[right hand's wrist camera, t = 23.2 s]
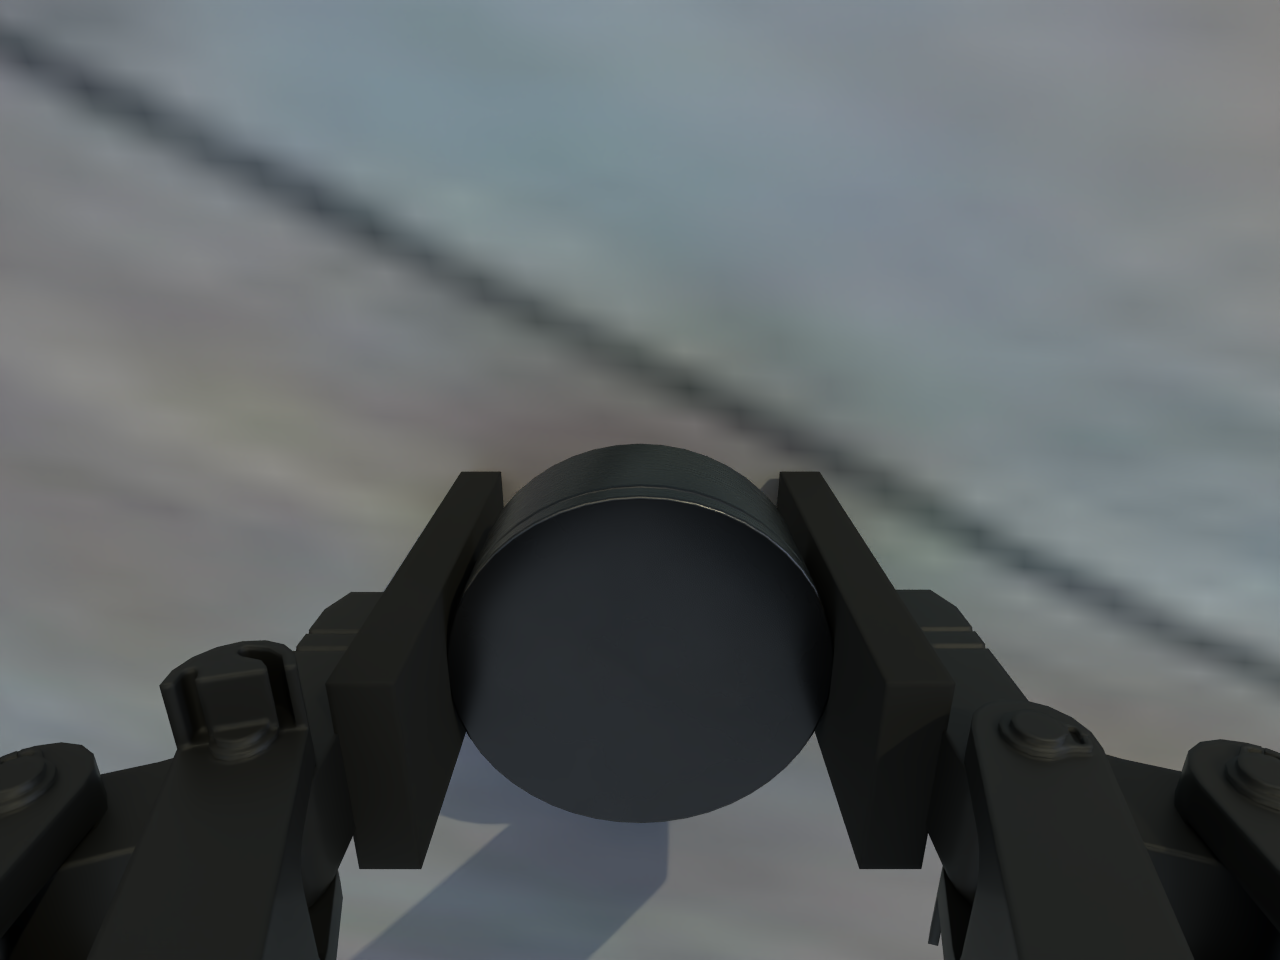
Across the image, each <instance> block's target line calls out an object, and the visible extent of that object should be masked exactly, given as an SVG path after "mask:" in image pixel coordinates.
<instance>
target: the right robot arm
mask: <svg viewBox="0 0 1280 960" xmlns="http://www.w3.org/2000/svg"><path fill="white" fill-rule="evenodd" d="M503 508H504V507H503V493H502V480H501V472H461V473H460V475H459V476H458V478H457V479H456V481H455V483H454V484H453V486H452V487H451V489H450V490H449V492H448V493H447V495H446V497H445V498H444V500H443V501H442V503H441V504H440V506H439V507H438V509H437V511H436V512H435V514H434V515H433V517H432V518H431V520H430V521H429V523H428V524H427V526H426V528H425V529H424V531H423V532H422V534H421V535H420V537H419V538H418V540H417V542H416V543H415V545H414V546H413V548H412V549H411V551H410V552H409V554H408V556H407V557H406V559H405V560H404V562H403V563H402V565H401V566H400V568H399V569H398V571H397V573H396V574H395V576H394V577H393V579H392V580H391V582H390V583H389V585H388V587H387V588H386V590H385V591H384V592H351V593H349V594H347V595H346V596H344V597H343V598H341V599H340V600H338V601H337V602H335V603H334V604H332V605H331V606H329V607H328V608H326V609H325V610H324V611H323V612H322V614H321V615H320V616H319V618H318V619H317V620H316V622H315V623H314V624H313V625H312V627H311V628H310V629H309V634H306V635H305V636H304V637H303V639H302V640H301V641H300V643H299V644H298V645H297V647H296V651H292V650H291V649H289V648H288V647H287V646H285V645H284V644H280V643H275V642H271V641H266V640H263V641H242V642H238V643H233V644H229V645H224V646H220V647H216V648H214V649H211V650H209V651H207V652H204V653H202V654H199V655H197V656H194V657H192V658H191V659H189V660H188V661H186V662H185V663H183V664H181V665H180V666H178V667H177V668H175V669H174V670H172V671H171V673H170V674H169V675H168V676H167V677H166V678H165V680H164V681H163V682H162V683H161V684H160V685H159V686H160V690H161V693H162V697H163V700H164V704H165V707H166V711H167V714H168V718H169V721H170V725H171V729H172V732H173V736H174V739H175V743H176V746H177V751H176V753H175V756H174V758H172V759H168V760H165V761H161V762H157V763H152V764H148V765H143V766H138V767H134V768H129V769H124V770H120V771H115V772H110V773H106V774H101V775H100V772H99V769H98V766H97V763H96V760H95V757H94V754H93V753H92V752H90V751H89V750H88V749H86V748H85V747H84V746H82V745H78V744H70V743H62V742H61V743H53V744H46V745H39V746H33V747H30V748H26V749H22V750H21V751H18V752H17V751H15V752H13V753H10V754H7V755H5V756H2V757H0V960H336V957H337V948H338V938H339V929H340V919H341V910H342V900H343V896H342V889H341V882H340V877H339V872H338V868H339V866H340V863H341V861H342V859H343V857H344V854H345V852H346V850H347V848H348V846H349V843H350V841H351V839H352V837H354V842H355V848H356V853H357V859H358V864H359V869H421V868H422V865H423V862H424V859H425V856H426V853H427V850H428V847H429V844H430V841H431V838H432V835H433V831H434V828H435V825H436V822H437V819H438V816H439V813H440V810H441V807H442V804H443V801H444V798H445V795H446V791H447V788H448V785H449V782H450V779H451V776H452V773H453V770H454V767H455V764H456V761H457V758H458V755H459V751H460V748H461V745H462V742H463V739H464V736H465V733H466V730H465V728H464V726H463V724H462V722H461V721H460V719H459V717H458V714H457V711H456V708H455V706H454V703H453V700H452V697H451V690H450V681H449V673H448V663H447V642H448V634H449V629H450V626H451V622H452V619H453V615H454V612H455V609H456V607H457V604H458V602H459V600H460V598H461V595H462V593H463V591H464V588H465V586H466V584H467V581H468V579H469V577H470V575H471V572H472V570H473V568H474V565H475V563H476V561H477V559H478V556H479V554H480V552H481V549H482V547H483V545H484V543H485V540H486V538H487V536H488V534H489V532H490V529H491V527H492V525H493V524H494V522H495V521H496V519H497V517H498V516H499V514H500V513H501V511H502V510H503ZM777 510H778V511H779V513H780V514H781V516H782V517H783V519H784V520H785V522H786V523H787V525H788V527H789V529H790V532H791V534H792V536H793V538H794V540H795V542H796V544H797V547H798V549H799V551H800V553H801V556H802V558H803V560H804V562H805V564H806V567H807V569H808V571H809V573H810V575H811V578H812V580H813V582H814V584H815V586H816V589H817V591H818V593H819V595H820V597H821V600H822V602H823V604H824V606H825V608H826V612H827V615H828V619H829V622H830V626H831V629H832V636H833V644H834V657H833V667H832V677H831V685H830V693H829V698H828V701H827V704H826V707H825V710H824V713H823V715H822V717H821V719H820V721H819V723H818V725H817V727H816V729H815V734H816V737H817V740H818V743H819V746H820V749H821V752H822V755H823V758H824V761H825V764H826V768H827V771H828V774H829V777H830V780H831V783H832V786H833V789H834V792H835V795H836V798H837V801H838V804H839V808H840V811H841V814H842V817H843V820H844V823H845V826H846V829H847V832H848V835H849V838H850V841H851V844H852V848H853V851H854V854H855V857H856V860H857V863H858V866H859V869H921V868H922V863H923V857H924V852H925V846H926V841H927V836H928V833H929V836H930V838H931V840H932V842H933V845H934V847H935V849H936V851H937V853H938V856H939V858H940V860H941V862H942V864H943V867H942V872H941V877H940V882H939V887H938V892H937V897H936V902H935V907H934V912H933V917H932V922H931V927H930V934H929V941H928V944H932V945H937V946H938V943H939V939H940V934H941V936H942V946H943V955H944V960H1280V753H1278V752H1275V751H1273V750H1270V749H1267V748H1262V747H1261V746H1257V745H1253V744H1249V743H1244V742H1237V741H1229V740H1222V739H1219V740H1212V741H1204V742H1199V743H1198V744H1197V745H1196V746H1194V747H1193V748H1192V749H1190V750H1189V751H1188V754H1187V757H1186V760H1185V763H1184V766H1183V769H1182V772H1181V771H1176V770H1171V769H1167V768H1162V767H1157V766H1153V765H1148V764H1143V763H1138V762H1134V761H1129V760H1124V759H1120V758H1117V757H1113V756H1110V755H1106V754H1105V752H1104V750H1103V748H1102V746H1101V745H1100V744H1099V742H1098V741H1097V739H1096V738H1095V737H1094V735H1093V734H1092V732H1090V731H1089V730H1088V729H1086V728H1085V727H1084V726H1083V725H1081V724H1080V723H1079V722H1077V721H1076V720H1075V719H1073V718H1072V717H1070V716H1068V715H1066V714H1063V713H1061V712H1059V711H1057V710H1055V709H1053V708H1051V707H1049V706H1045V705H1041V704H1037V703H1033V702H1029V701H1028V700H1027V698H1026V697H1025V696H1024V695H1023V693H1022V692H1021V691H1020V689H1019V688H1018V687H1017V685H1016V684H1015V683H1014V681H1013V680H1012V679H1011V678H1010V676H1009V675H1008V674H1007V672H1006V671H1005V670H1004V668H1003V667H1002V666H1001V664H1000V663H999V662H998V661H997V659H996V658H995V657H994V655H993V654H992V653H991V651H990V650H989V649H985V644H984V642H983V641H982V640H981V638H980V637H979V636H978V634H977V633H976V632H975V631H972V627H971V625H970V624H969V623H968V621H967V620H966V619H965V617H964V616H963V615H962V613H961V612H960V611H959V610H958V608H957V607H956V606H954V605H953V604H951V603H950V602H948V601H946V600H945V599H943V598H942V597H940V596H939V595H937V594H936V593H934V592H933V591H931V590H895V588H894V587H893V585H892V584H891V582H890V581H889V579H888V577H887V576H886V574H885V573H884V571H883V570H882V568H881V567H880V565H879V564H878V562H877V560H876V559H875V557H874V556H873V554H872V553H871V551H870V550H869V548H868V546H867V545H866V543H865V542H864V540H863V539H862V537H861V536H860V534H859V532H858V531H857V529H856V528H855V526H854V525H853V523H852V522H851V520H850V518H849V517H848V515H847V514H846V512H845V511H844V509H843V508H842V506H841V505H840V503H839V501H838V500H837V498H836V497H835V495H834V494H833V492H832V491H831V489H830V487H829V486H828V484H827V483H826V481H825V480H824V478H823V477H822V475H821V473H820V472H780V477H779V491H778V505H777Z"/></svg>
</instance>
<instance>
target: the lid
mask: <svg viewBox="0 0 1280 960" xmlns="http://www.w3.org/2000/svg"><path fill="white" fill-rule="evenodd" d="M833 657H834V644H833V636H832V629H831V626H830V622H829V619H828V615H827V612H826V608H825V606H824V604H823V602H822V600H821V597H820V595H819V593H818V591H817V589H816V586H815V584H814V582H813V580H812V578H811V575H810V573H809V571H808V569H807V567H806V564H805V562H804V560H803V558H802V556H801V553H800V551H799V549H798V547H797V544H796V542H795V540H794V538H793V536H792V534H791V532H790V529H789V527H788V525H787V523H786V522H785V520H784V519H783V517H782V516H781V514H780V513H779V511H778V510H777V508H776V507H775V506H774V504H773V503H772V502H771V501H770V500H769V499H768V498H767V497H766V495H765V494H764V493H763V492H762V491H761V490H760V489H758V488H757V487H756V486H755V485H754V484H753V483H751V482H750V481H749V480H748V479H747V478H745V477H744V476H742V475H741V474H739V473H738V472H736V471H735V470H733V469H731V468H730V467H728V466H727V465H724V464H722V463H720V462H718V461H716V460H714V459H712V458H709V457H707V456H704V455H701V454H698V453H695V452H692V451H689V450H686V449H680V448H675V447H670V446H664V445H651V444H630V445H616V446H611V447H605V448H600V449H595V450H591V451H588V452H585V453H582V454H579V455H576V456H573V457H571V458H569V459H567V460H564V461H562V462H560V463H558V464H556V465H554V466H552V467H550V468H549V469H547V470H546V471H544V472H543V473H541V474H540V475H538V476H537V477H535V478H533V479H532V480H531V481H530V482H529V483H528V484H527V485H525V486H524V487H523V488H522V489H521V490H520V491H518V492H517V493H516V494H515V496H514V497H513V498H512V499H511V500H510V501H509V502H508V504H507V505H506V506H505V507H504V508H503V510H502V511H501V513H500V514H499V516H498V517H497V519H496V521H495V522H494V524H493V525H492V527H491V529H490V532H489V534H488V536H487V538H486V540H485V543H484V545H483V547H482V549H481V552H480V554H479V556H478V559H477V561H476V563H475V565H474V568H473V570H472V572H471V575H470V577H469V579H468V581H467V584H466V586H465V588H464V591H463V593H462V595H461V598H460V600H459V602H458V604H457V607H456V609H455V612H454V615H453V619H452V622H451V626H450V629H449V634H448V642H447V663H448V673H449V681H450V690H451V697H452V700H453V703H454V706H455V708H456V711H457V714H458V717H459V719H460V721H461V722H462V724H463V726H464V728H465V730H466V732H467V734H468V736H469V737H470V739H471V740H472V741H473V743H474V744H475V745H476V747H477V748H478V750H479V751H480V752H481V754H482V755H483V756H484V757H485V758H486V759H487V760H488V761H489V762H490V763H491V764H492V765H493V766H494V767H495V768H496V769H497V770H498V771H499V772H500V773H501V774H503V775H504V776H505V777H506V778H507V779H509V780H510V781H511V782H512V783H514V784H515V785H517V786H518V787H520V788H521V789H523V790H525V791H526V792H528V793H529V794H531V795H532V796H534V797H536V798H538V799H541V800H543V801H545V802H547V803H549V804H551V805H553V806H556V807H558V808H561V809H564V810H567V811H569V812H572V813H575V814H579V815H583V816H587V817H591V818H595V819H602V820H609V821H616V822H632V823H648V822H665V821H671V820H678V819H684V818H689V817H693V816H696V815H700V814H704V813H708V812H711V811H713V810H716V809H719V808H721V807H724V806H727V805H729V804H731V803H733V802H735V801H737V800H739V799H741V798H743V797H745V796H747V795H749V794H751V793H752V792H754V791H755V790H757V789H759V788H760V787H762V786H763V785H765V784H766V783H768V782H769V781H770V780H771V779H773V778H774V777H775V776H776V775H777V774H779V773H780V772H781V771H782V770H783V769H784V768H786V767H787V766H788V764H789V763H790V762H791V761H792V760H793V759H794V758H795V757H796V756H797V755H798V754H799V753H800V751H801V750H802V749H803V747H804V746H805V744H806V743H807V742H808V740H809V739H810V737H811V736H812V734H813V733H814V731H815V729H816V727H817V725H818V723H819V721H820V719H821V717H822V715H823V713H824V710H825V707H826V704H827V701H828V698H829V693H830V685H831V677H832V667H833Z"/></svg>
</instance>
